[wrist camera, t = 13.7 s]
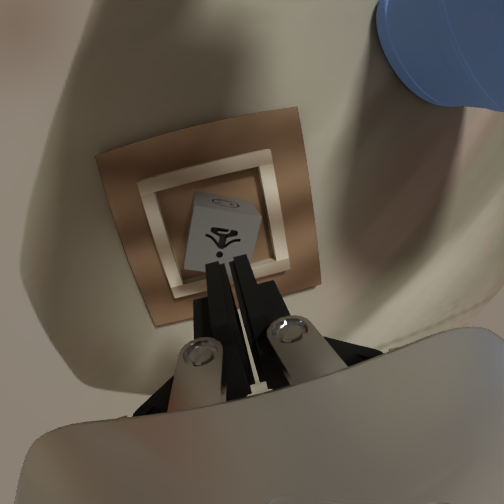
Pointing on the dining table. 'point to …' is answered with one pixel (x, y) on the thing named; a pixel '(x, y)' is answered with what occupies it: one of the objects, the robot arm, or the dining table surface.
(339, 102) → the dining table surface
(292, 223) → the pocket board
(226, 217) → the dice cube
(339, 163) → the dining table surface
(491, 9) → the water jug
